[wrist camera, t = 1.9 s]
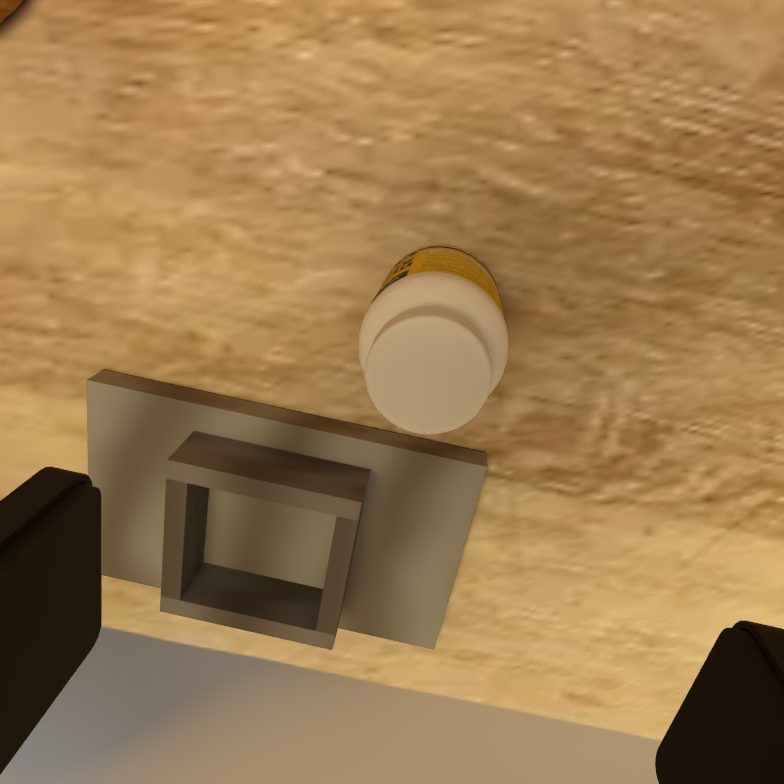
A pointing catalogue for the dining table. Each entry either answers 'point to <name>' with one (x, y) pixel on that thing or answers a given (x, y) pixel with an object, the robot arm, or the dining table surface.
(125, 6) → the dining table surface
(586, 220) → the dining table surface
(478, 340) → the supplement bottle
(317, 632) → the collar board
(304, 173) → the dining table surface
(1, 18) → the pastry
